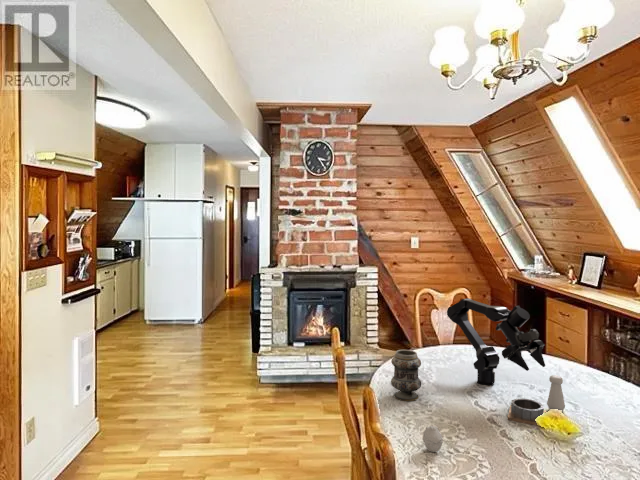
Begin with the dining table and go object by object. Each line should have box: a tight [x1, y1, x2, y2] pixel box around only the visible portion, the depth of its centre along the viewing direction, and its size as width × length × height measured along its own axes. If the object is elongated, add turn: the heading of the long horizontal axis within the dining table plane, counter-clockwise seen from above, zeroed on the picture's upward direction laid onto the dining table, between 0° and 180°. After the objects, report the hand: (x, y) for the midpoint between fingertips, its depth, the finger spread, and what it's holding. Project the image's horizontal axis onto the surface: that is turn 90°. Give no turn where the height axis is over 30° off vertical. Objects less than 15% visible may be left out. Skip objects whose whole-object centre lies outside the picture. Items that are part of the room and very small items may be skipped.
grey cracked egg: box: [422, 425, 444, 453], centre depth 131 cm, size 6×7×7 cm
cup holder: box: [507, 398, 547, 427], centre depth 153 cm, size 12×12×4 cm
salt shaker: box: [546, 374, 566, 413], centre depth 158 cm, size 6×6×13 cm
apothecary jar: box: [390, 349, 422, 402], centre depth 173 cm, size 12×12×18 cm
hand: (536, 368), depth 165 cm, fingers open, 9 cm apart
